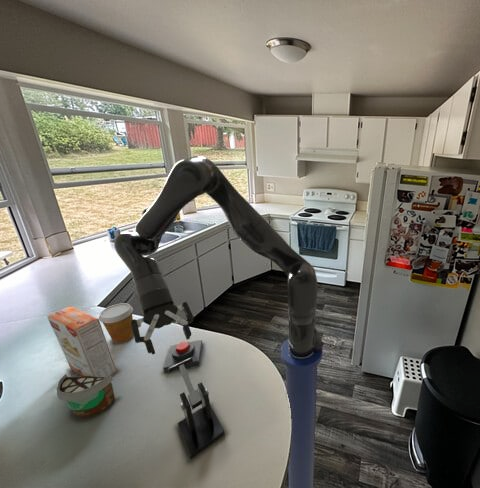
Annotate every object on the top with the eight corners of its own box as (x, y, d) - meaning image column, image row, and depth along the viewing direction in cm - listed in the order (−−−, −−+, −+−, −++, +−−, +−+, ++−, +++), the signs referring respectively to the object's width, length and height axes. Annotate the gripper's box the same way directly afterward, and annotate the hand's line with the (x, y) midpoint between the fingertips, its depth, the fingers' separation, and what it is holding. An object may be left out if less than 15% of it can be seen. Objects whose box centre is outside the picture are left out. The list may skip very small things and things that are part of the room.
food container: (53, 423, 64) (39, 395, 60) (75, 400, 69) (63, 373, 66) (103, 423, 64) (92, 395, 61) (121, 400, 70) (111, 374, 66)
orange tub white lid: (127, 326, 98) (119, 300, 94) (145, 332, 96) (138, 305, 91) (100, 342, 90) (90, 315, 86) (119, 349, 87) (110, 321, 83)
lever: (168, 371, 64) (167, 366, 63) (191, 359, 68) (191, 355, 66) (184, 414, 58) (184, 410, 57) (209, 399, 61) (209, 395, 60)
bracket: (178, 425, 64) (169, 390, 60) (209, 405, 70) (203, 371, 65) (191, 459, 58) (181, 421, 53) (225, 434, 63) (219, 398, 58)
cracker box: (69, 370, 78) (45, 315, 71) (92, 357, 84) (72, 304, 76) (95, 387, 73) (72, 330, 66) (118, 371, 79) (99, 317, 71)
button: (190, 344, 86) (189, 340, 85) (188, 352, 83) (187, 348, 82) (178, 346, 85) (177, 342, 84) (176, 354, 81) (175, 350, 81)
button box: (202, 344, 91) (201, 335, 89) (199, 365, 82) (197, 356, 81) (171, 350, 88) (169, 341, 86) (164, 373, 79) (162, 363, 78)
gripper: (122, 298, 65) (140, 357, 61) (182, 280, 74) (201, 331, 71) (123, 306, 70) (141, 361, 67) (179, 289, 80) (197, 336, 76)
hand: (171, 346), depth 69 cm, fingers open, 8 cm apart
